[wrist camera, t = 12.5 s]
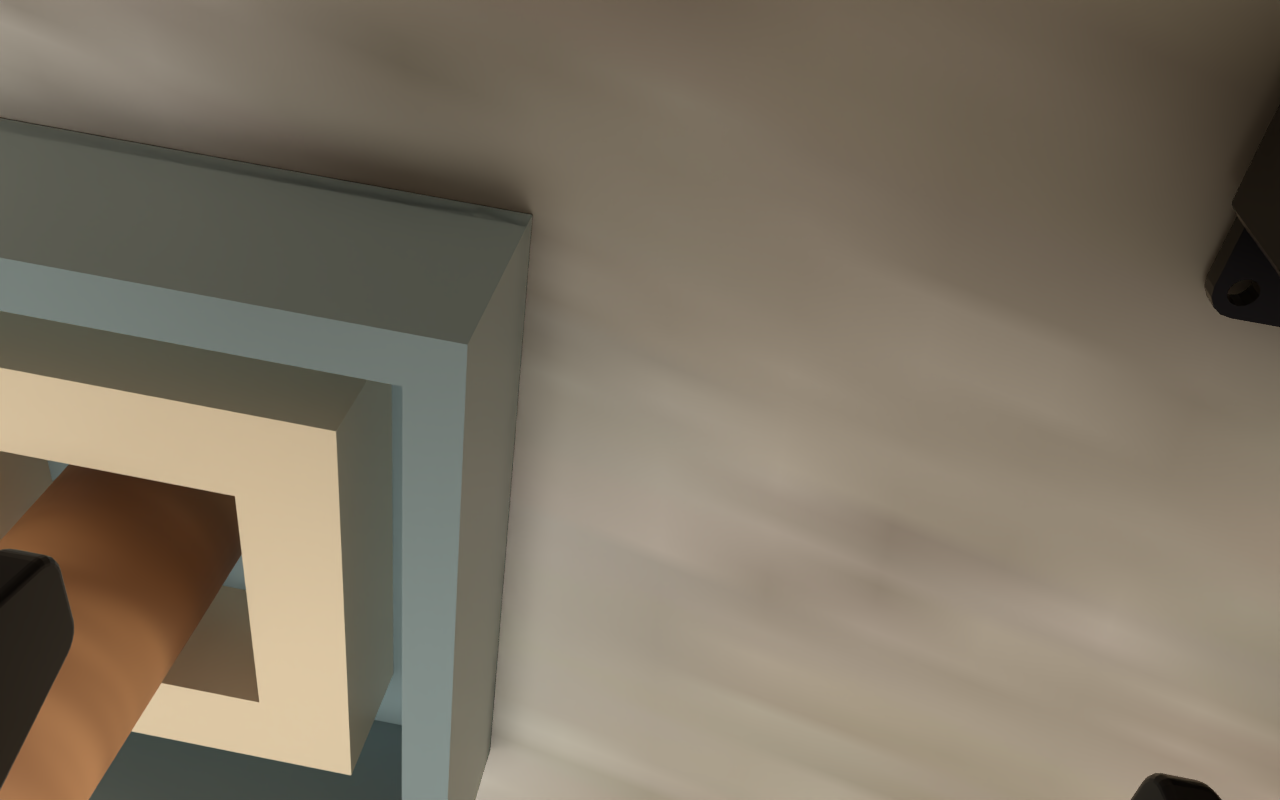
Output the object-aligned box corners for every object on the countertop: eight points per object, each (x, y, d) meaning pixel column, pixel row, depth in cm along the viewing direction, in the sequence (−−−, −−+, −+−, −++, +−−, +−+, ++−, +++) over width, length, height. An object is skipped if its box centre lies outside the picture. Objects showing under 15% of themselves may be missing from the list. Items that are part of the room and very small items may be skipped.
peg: (257, 431, 23) (0, 798, 16) (270, 564, 25) (51, 937, 18) (76, 396, 23) (-262, 745, 16) (105, 532, 26) (-178, 890, 18)
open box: (532, 214, 20) (467, 345, 16) (490, 750, 29) (443, 908, 26) (-249, 72, 20) (-483, 167, 17) (-46, 642, 30) (-166, 784, 26)
